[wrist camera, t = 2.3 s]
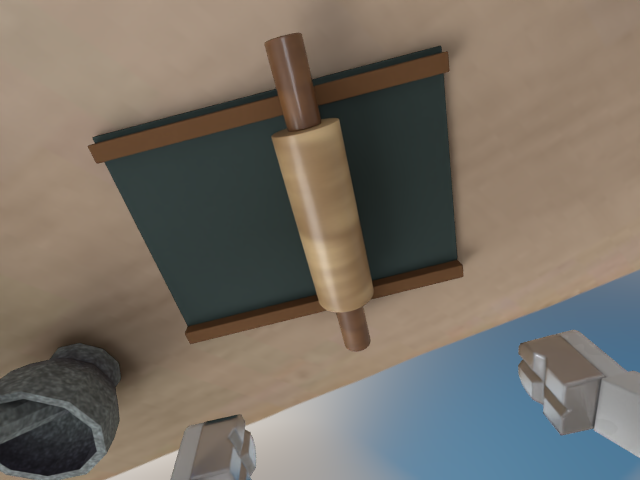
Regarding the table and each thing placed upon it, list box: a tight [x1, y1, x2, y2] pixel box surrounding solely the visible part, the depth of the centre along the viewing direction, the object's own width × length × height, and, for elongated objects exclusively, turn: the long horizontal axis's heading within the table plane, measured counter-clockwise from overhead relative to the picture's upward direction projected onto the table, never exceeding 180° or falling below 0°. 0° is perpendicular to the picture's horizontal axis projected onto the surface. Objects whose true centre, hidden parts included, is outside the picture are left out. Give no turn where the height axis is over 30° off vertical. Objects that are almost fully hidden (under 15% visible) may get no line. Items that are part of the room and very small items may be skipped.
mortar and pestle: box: [0, 343, 121, 480], centre depth 26 cm, size 11×9×12 cm
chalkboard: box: [88, 46, 463, 344], centre depth 27 cm, size 24×18×2 cm
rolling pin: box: [265, 33, 374, 352], centre depth 25 cm, size 4×23×4 cm, turn 13°
